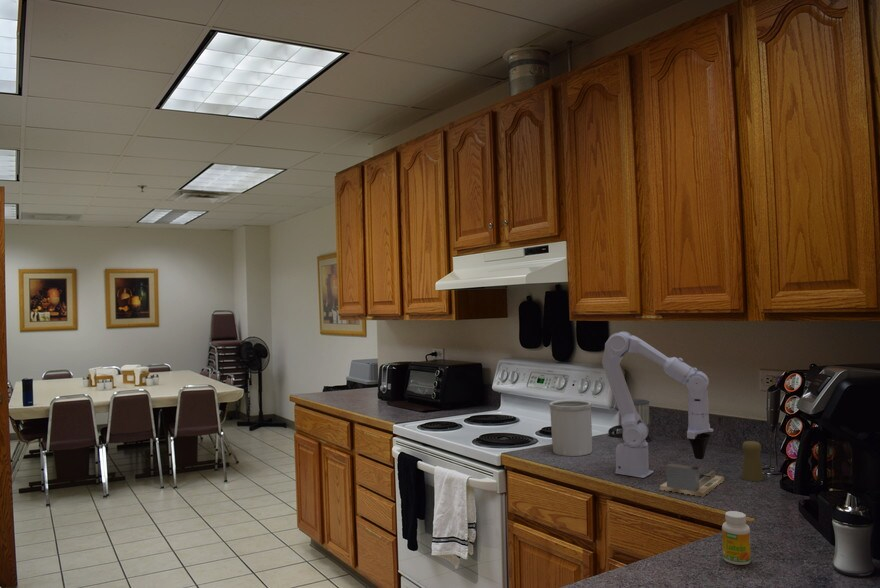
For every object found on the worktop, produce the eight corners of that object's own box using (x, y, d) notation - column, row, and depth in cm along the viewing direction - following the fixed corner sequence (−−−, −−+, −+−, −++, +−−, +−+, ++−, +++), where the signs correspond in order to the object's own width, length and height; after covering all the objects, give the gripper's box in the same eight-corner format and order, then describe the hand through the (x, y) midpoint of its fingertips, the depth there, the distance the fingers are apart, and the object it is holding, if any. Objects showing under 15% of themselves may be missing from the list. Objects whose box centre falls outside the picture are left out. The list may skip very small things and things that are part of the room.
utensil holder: (547, 455, 229) (546, 405, 229) (554, 445, 243) (552, 398, 243) (590, 458, 225) (589, 406, 224) (594, 447, 239) (593, 399, 239)
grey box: (666, 486, 186) (666, 465, 186) (670, 484, 188) (670, 463, 188) (695, 491, 181) (695, 469, 181) (699, 489, 183) (698, 467, 183)
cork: (744, 474, 200) (743, 438, 200) (766, 477, 196) (765, 440, 196) (739, 479, 195) (738, 442, 195) (761, 482, 191) (760, 444, 191)
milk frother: (651, 443, 243) (650, 403, 243) (607, 441, 248) (606, 402, 248) (650, 434, 257) (649, 397, 257) (608, 433, 262) (607, 396, 262)
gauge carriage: (680, 481, 190) (680, 469, 190) (686, 477, 194) (686, 465, 194) (708, 485, 185) (707, 473, 185) (713, 481, 189) (713, 469, 189)
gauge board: (660, 489, 187) (659, 480, 187) (683, 474, 202) (683, 465, 202) (703, 497, 180) (703, 487, 179) (724, 480, 194) (724, 471, 194)
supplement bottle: (723, 563, 137) (722, 517, 137) (722, 553, 142) (721, 508, 142) (752, 566, 135) (750, 519, 135) (749, 556, 140) (748, 511, 140)
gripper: (704, 418, 187) (705, 465, 188) (720, 410, 199) (720, 455, 199) (679, 415, 192) (680, 462, 192) (696, 408, 203) (697, 452, 203)
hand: (699, 458), depth 196 cm, fingers closed
